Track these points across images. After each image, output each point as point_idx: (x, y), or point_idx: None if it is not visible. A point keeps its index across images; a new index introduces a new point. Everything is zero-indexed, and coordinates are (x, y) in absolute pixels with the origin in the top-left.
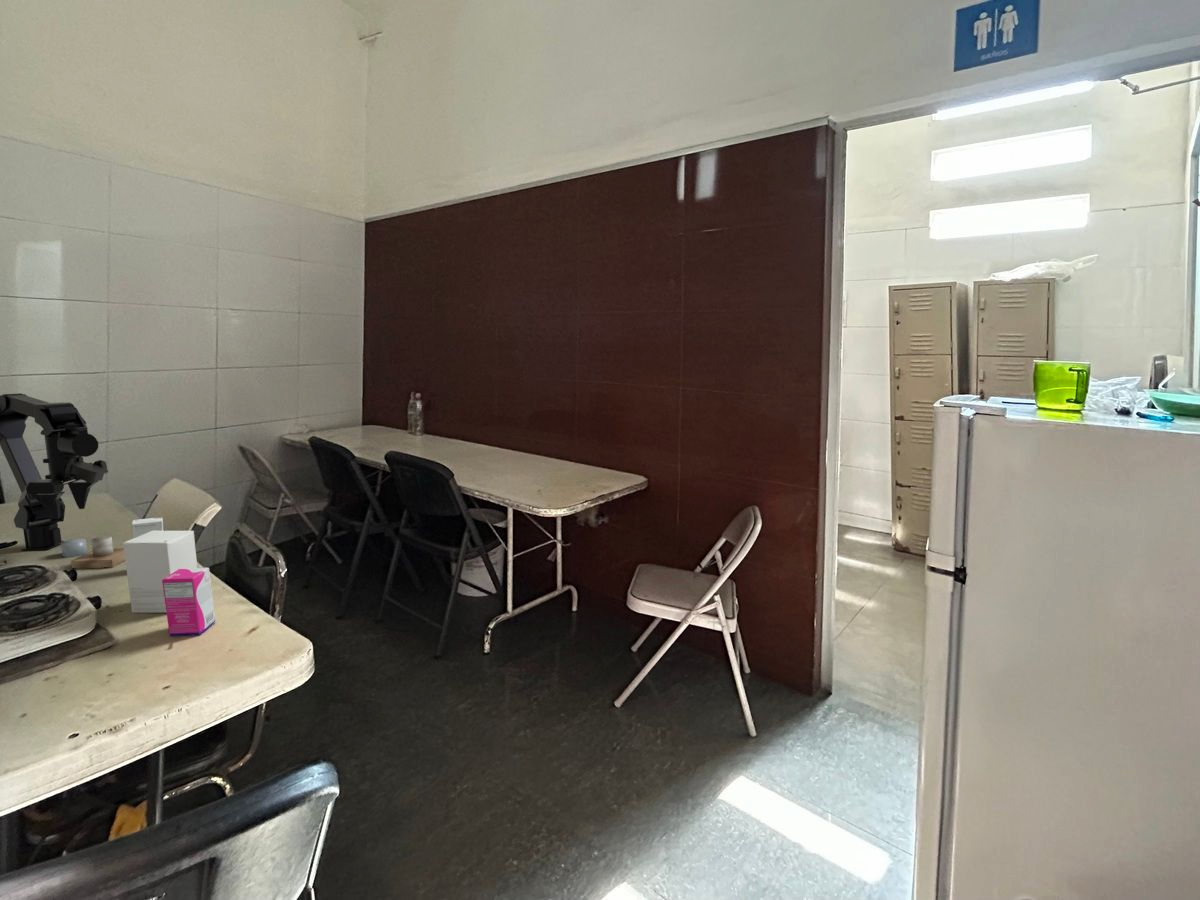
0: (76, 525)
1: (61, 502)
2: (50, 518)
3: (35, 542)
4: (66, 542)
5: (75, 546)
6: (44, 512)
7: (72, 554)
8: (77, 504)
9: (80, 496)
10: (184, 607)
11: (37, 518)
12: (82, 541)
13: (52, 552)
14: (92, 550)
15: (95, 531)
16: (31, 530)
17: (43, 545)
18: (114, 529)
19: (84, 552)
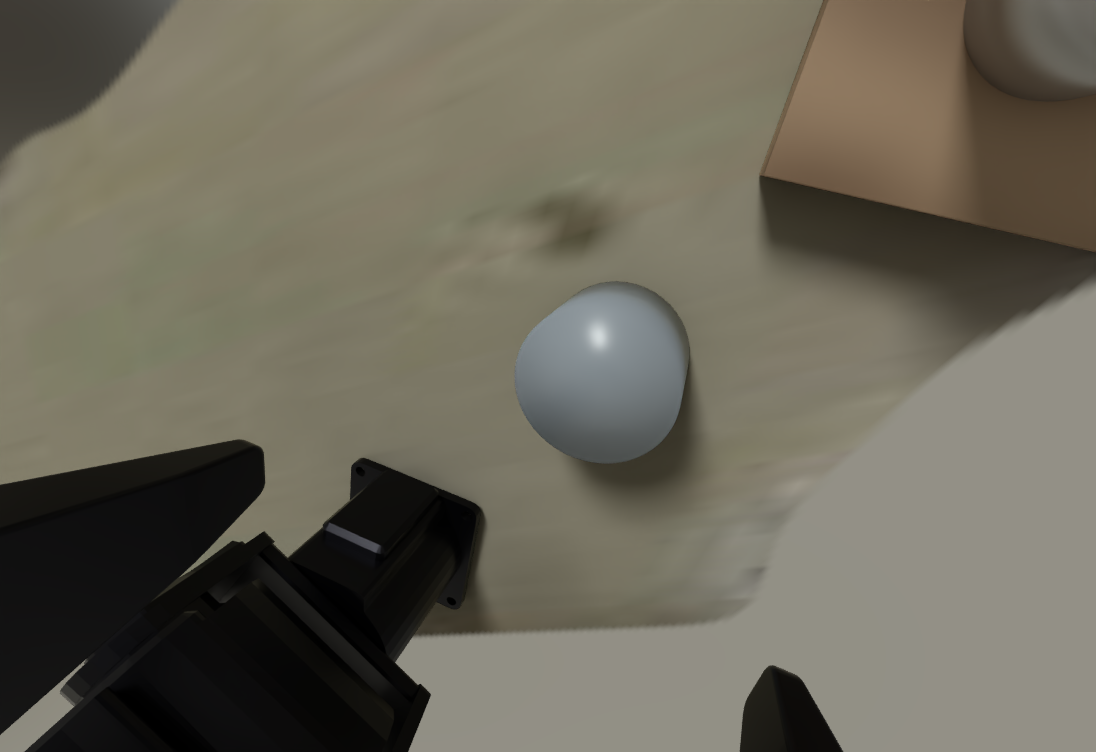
0: (114, 461)
1: (130, 672)
2: (301, 622)
3: (444, 580)
4: (608, 429)
5: (679, 351)
6: (317, 721)
7: (687, 354)
8: (205, 544)
9: (29, 599)
10: None
11: (378, 715)
12: (620, 319)
13: (528, 478)
14: (812, 185)
15: (185, 361)
16: (399, 652)
17: (448, 536)
18: (148, 275)
19: (642, 291)
